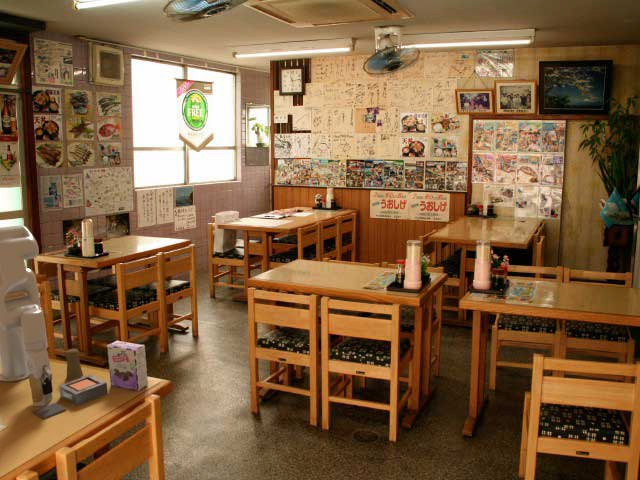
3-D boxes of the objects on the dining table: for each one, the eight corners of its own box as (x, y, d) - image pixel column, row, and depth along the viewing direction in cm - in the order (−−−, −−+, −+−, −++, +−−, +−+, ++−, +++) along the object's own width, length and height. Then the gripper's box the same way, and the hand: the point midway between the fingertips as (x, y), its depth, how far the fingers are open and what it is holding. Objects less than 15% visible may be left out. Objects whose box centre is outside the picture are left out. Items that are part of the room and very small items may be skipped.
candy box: (110, 386, 228) (105, 344, 225) (121, 380, 234) (117, 339, 231) (138, 391, 223) (134, 349, 219) (149, 385, 228) (145, 344, 225)
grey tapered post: (77, 379, 235) (74, 353, 233) (63, 378, 236) (60, 352, 234) (86, 373, 241) (83, 347, 239) (72, 372, 242) (69, 346, 240)
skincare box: (41, 398, 219) (37, 367, 217) (53, 398, 219) (49, 366, 217) (32, 406, 213) (28, 374, 211) (44, 406, 213) (40, 374, 211)
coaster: (32, 412, 209) (32, 411, 208) (55, 404, 215) (54, 402, 214) (43, 419, 203) (43, 417, 203) (66, 410, 209) (66, 408, 209)
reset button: (69, 390, 220) (69, 385, 220) (87, 384, 225) (87, 379, 225) (79, 395, 215) (78, 390, 215) (97, 388, 221) (96, 383, 220)
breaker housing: (59, 397, 220) (58, 385, 219) (90, 385, 229) (89, 374, 228) (76, 406, 212) (75, 394, 211) (107, 394, 221) (106, 382, 221)
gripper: (14, 342, 215) (20, 387, 218) (36, 352, 204) (42, 400, 207) (35, 337, 220) (40, 381, 223) (57, 346, 209) (63, 392, 212)
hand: (41, 390), depth 215 cm, fingers open, 9 cm apart
